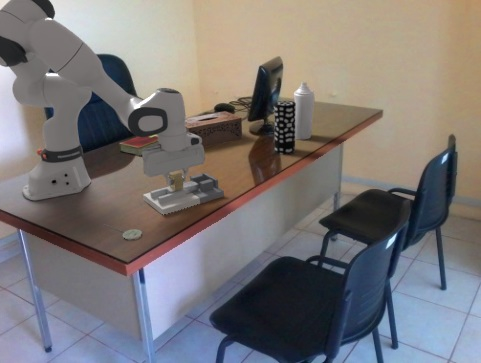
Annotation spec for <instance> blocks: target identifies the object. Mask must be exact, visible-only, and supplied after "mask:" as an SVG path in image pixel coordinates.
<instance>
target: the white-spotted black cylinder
mask: <svg viewBox="0 0 481 363" xmlns="http://www.w3.org/2000/svg"><path fill="white" fill-rule="evenodd" d="M295 116H296V103H295V101H292V100H278V101H275V102H274V153H275V154H278V155H283V156H285V155H292V154H294V153H296V139H295Z"/></svg>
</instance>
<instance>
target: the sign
mask: <svg viewBox="0 0 481 363" xmlns="http://www.w3.org/2000/svg"><path fill="white" fill-rule="evenodd" d="M102 225H103V226H105V225H106V226H105V227H108V228H110V227H111V228H110V229H113V228H114V229H113V230H116V229H117V230H116V231H118V230H119V232H121V231H122V232H121V233H122V238H123V239H124V238H125V239H135V238H137V237H139V236H141V234H142V235H143V232H142V231H141V230H140V229H135V228H134V229H129V230H126V231H124V230H121V229H118V228H116V227H113V226H110V225H108V224H106V223H102ZM123 232H124V233H123ZM141 237H142V236H141ZM125 239H124V240H125ZM135 240H136V239H135Z"/></svg>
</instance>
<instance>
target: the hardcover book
mask: <svg viewBox="0 0 481 363" xmlns="http://www.w3.org/2000/svg"><path fill="white" fill-rule="evenodd" d="M118 144H119V151H120V152H125V153H128V154H133V155H137V156H142V152H143V150H144V149H146V147H149V146H150V147H151V146H154V145H158V144H159V143H158V134H156V135H153V136H149V137H138V136H136V137H134V138H130V139H128V140H125V141H122V142H119V143H118ZM145 151H147V150H145Z"/></svg>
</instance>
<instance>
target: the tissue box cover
mask: <svg viewBox="0 0 481 363" xmlns="http://www.w3.org/2000/svg"><path fill="white" fill-rule="evenodd" d="M242 122H243V121H242V117H240V116H238V115H236V114H233V113H231V112H228V111H225V110H224V111H220V112H215V113H208V114H203V115H198V116H192V117H186V118H185V127H186V130H187V133H192V134H195V135H197V136H199V137H201V138H202V143H201V144H202V145H203V147H204V148H207V147H213V146H216V145H221V144H225V143H226V144H227V143H230V142H234V141H239V140H243V125H242V124H243V123H242Z"/></svg>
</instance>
